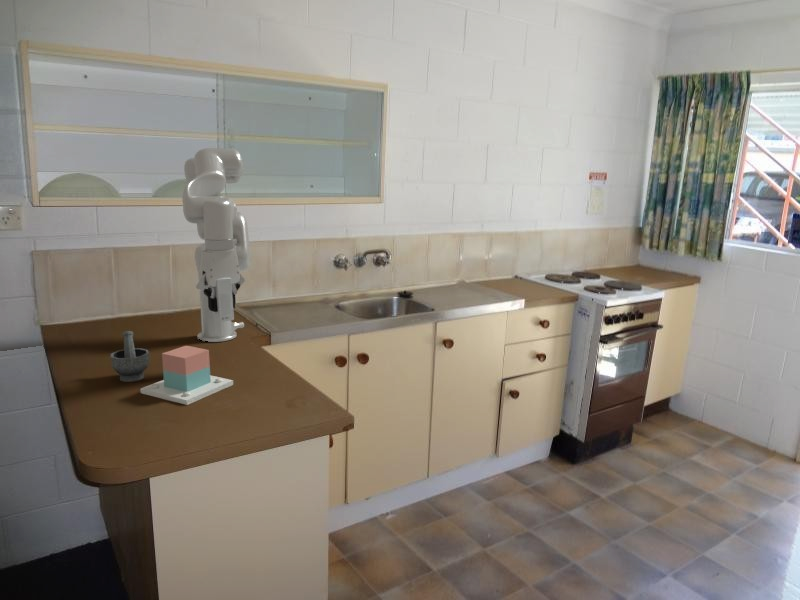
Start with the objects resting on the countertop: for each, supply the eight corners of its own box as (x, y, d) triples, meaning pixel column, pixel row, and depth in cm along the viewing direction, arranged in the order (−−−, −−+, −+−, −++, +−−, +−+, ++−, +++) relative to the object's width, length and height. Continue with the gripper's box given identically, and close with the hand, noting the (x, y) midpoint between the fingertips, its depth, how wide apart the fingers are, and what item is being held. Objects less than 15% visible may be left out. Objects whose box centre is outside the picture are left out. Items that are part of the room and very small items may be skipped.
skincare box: (234, 320, 171) (232, 277, 168) (219, 322, 168) (217, 279, 165) (226, 315, 175) (224, 274, 173) (211, 317, 173) (209, 275, 170)
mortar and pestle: (151, 381, 163) (148, 337, 160) (113, 386, 159) (109, 341, 156) (149, 368, 172) (145, 327, 170) (112, 373, 168) (108, 331, 166)
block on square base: (188, 374, 168) (186, 339, 166) (233, 384, 161) (231, 348, 159) (140, 393, 154) (137, 355, 152) (187, 405, 147) (184, 365, 145)
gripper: (238, 240, 175) (240, 301, 180) (183, 246, 163) (187, 312, 167) (253, 243, 170) (255, 306, 175) (198, 250, 158) (201, 317, 163)
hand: (222, 308), depth 171 cm, fingers closed on skincare box, 4 cm apart
